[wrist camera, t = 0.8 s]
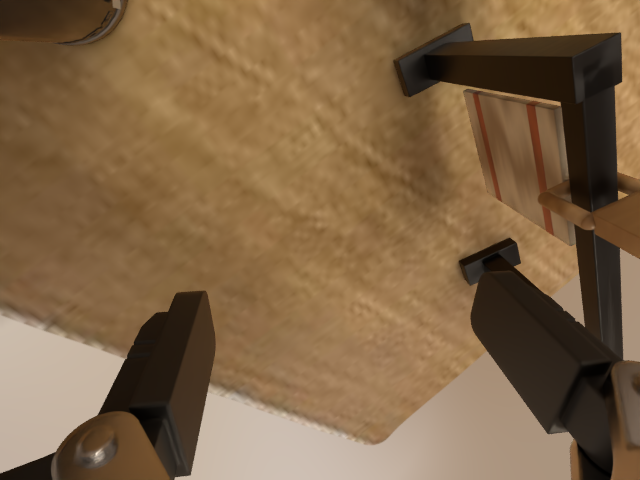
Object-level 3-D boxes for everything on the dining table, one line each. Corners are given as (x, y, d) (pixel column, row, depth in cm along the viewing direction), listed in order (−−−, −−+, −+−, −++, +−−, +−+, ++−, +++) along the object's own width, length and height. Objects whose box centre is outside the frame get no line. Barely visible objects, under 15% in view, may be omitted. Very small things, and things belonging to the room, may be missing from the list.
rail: (393, 60, 28) (521, 69, 14) (462, 23, 28) (674, -9, 13) (465, 280, 40) (574, 409, 26) (514, 257, 40) (656, 377, 25)
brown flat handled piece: (441, 102, 26) (752, 193, 9) (489, 77, 26) (908, 125, 9) (468, 201, 30) (716, 388, 13) (510, 181, 30) (819, 349, 13)
